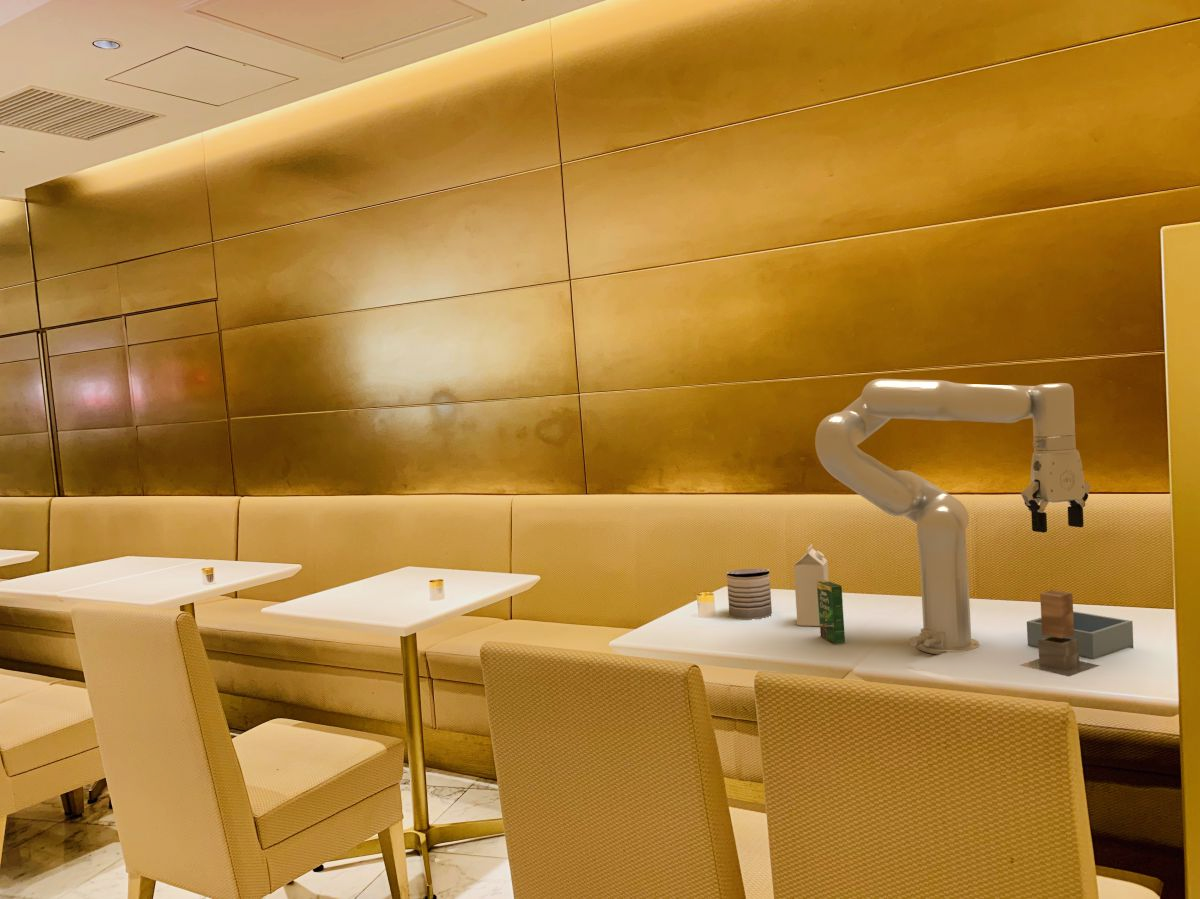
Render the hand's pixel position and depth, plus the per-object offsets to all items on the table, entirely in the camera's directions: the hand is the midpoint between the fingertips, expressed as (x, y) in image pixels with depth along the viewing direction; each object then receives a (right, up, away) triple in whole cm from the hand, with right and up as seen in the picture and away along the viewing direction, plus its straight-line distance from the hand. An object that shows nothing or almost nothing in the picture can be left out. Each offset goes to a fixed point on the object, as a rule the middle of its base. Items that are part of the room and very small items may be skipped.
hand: (1057, 529), depth 182 cm
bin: (+6, -25, +3) cm, 26 cm away
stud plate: (-4, -27, -8) cm, 28 cm away
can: (-53, -27, +53) cm, 80 cm away
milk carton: (-40, -27, +40) cm, 63 cm away
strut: (-4, -26, -8) cm, 27 cm away
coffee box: (-40, -28, +24) cm, 54 cm away
